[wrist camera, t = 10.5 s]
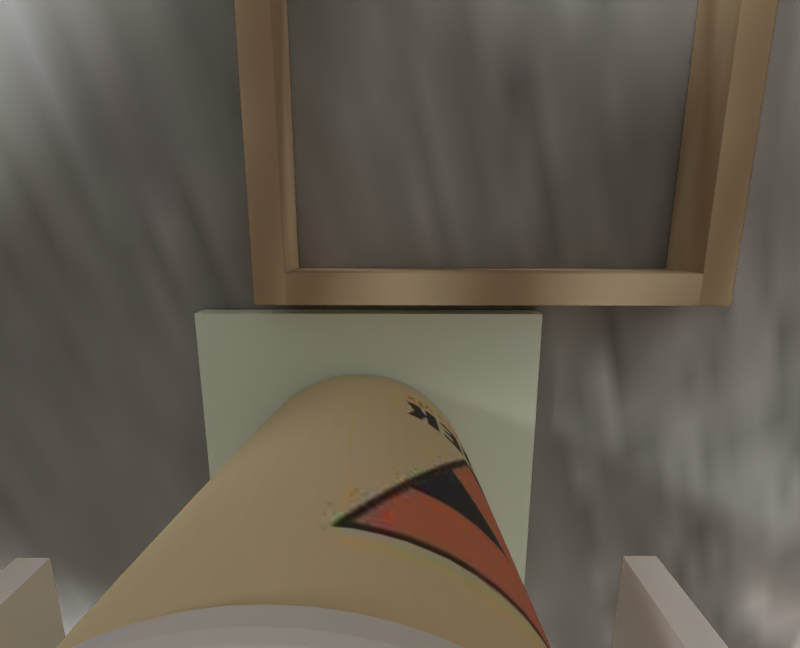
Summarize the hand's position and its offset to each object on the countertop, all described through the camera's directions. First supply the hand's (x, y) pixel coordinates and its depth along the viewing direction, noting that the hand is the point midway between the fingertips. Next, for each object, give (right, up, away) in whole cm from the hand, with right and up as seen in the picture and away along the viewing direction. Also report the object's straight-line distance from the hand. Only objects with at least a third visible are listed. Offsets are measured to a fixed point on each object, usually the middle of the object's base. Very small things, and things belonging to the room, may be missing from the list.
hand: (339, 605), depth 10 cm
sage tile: (0, +1, +7) cm, 7 cm away
